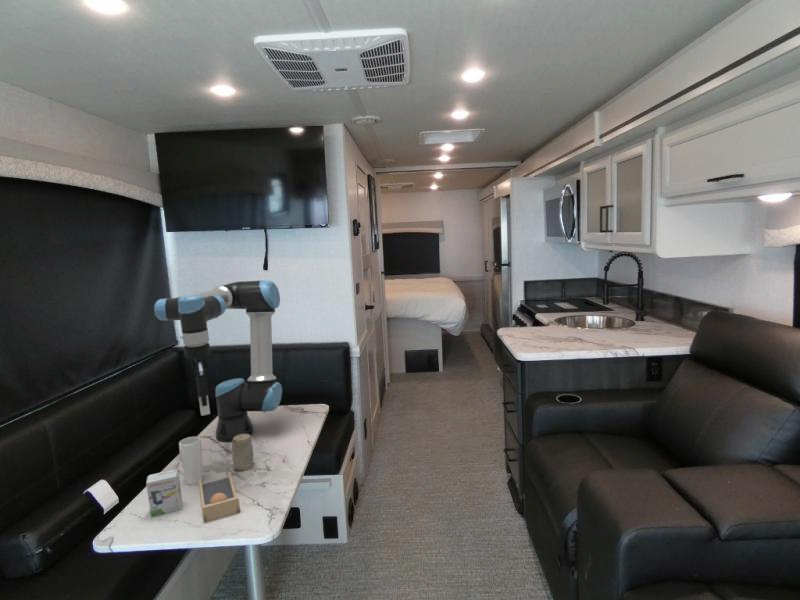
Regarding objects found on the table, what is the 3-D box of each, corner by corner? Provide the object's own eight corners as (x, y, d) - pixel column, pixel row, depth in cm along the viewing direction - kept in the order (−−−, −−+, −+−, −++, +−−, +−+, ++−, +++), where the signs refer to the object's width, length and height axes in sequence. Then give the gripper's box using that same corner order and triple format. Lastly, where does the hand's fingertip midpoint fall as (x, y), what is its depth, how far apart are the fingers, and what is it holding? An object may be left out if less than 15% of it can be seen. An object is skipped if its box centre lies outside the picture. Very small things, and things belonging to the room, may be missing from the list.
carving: (258, 464, 170) (255, 433, 169) (243, 474, 164) (240, 442, 162) (245, 462, 173) (242, 431, 171) (230, 471, 166) (226, 439, 165)
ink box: (182, 503, 147) (178, 467, 146) (182, 511, 143) (177, 475, 141) (152, 510, 144) (147, 474, 142) (150, 519, 139) (145, 482, 138)
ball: (210, 513, 141) (208, 496, 143) (228, 508, 144) (225, 491, 145) (211, 512, 137) (209, 494, 139) (229, 507, 140) (226, 489, 141)
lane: (199, 486, 157) (197, 472, 156) (230, 478, 161) (229, 464, 161) (204, 524, 136) (202, 508, 135) (240, 513, 140) (238, 498, 139)
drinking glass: (209, 478, 162) (204, 437, 160) (195, 488, 156) (190, 446, 154) (193, 476, 164) (189, 435, 162) (179, 486, 158) (173, 444, 156)
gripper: (182, 341, 153) (191, 410, 157) (184, 350, 142) (194, 423, 146) (207, 338, 156) (215, 405, 160) (211, 346, 145) (220, 418, 149)
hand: (205, 414), depth 153 cm, fingers closed
